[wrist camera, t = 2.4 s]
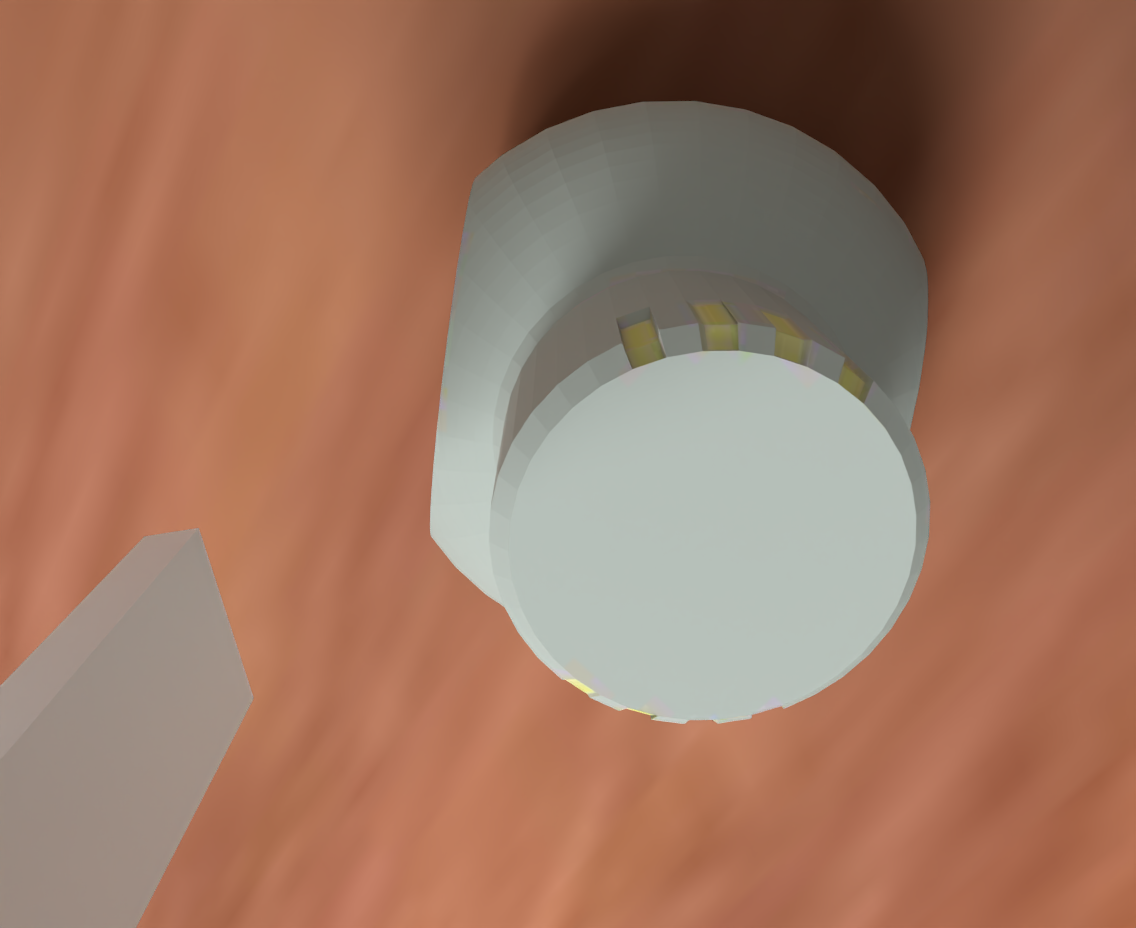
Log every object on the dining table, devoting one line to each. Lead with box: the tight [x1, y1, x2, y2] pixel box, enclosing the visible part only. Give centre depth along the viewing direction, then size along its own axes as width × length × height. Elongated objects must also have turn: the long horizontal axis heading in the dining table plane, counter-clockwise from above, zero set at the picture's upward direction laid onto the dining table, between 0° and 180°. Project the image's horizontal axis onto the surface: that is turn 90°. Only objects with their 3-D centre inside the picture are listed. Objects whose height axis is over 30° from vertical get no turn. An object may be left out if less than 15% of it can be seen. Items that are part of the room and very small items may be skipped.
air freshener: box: [430, 101, 930, 724], centre depth 17 cm, size 11×8×10 cm
